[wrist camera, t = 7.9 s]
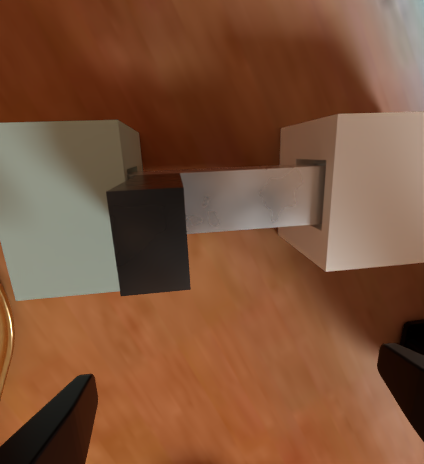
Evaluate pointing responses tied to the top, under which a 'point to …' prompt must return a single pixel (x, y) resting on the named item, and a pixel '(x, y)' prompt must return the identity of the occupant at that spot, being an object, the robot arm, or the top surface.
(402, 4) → the top surface
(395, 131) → the sleeve
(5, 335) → the serving platter
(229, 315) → the top surface
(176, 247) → the grey bridging bar
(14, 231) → the socket block
